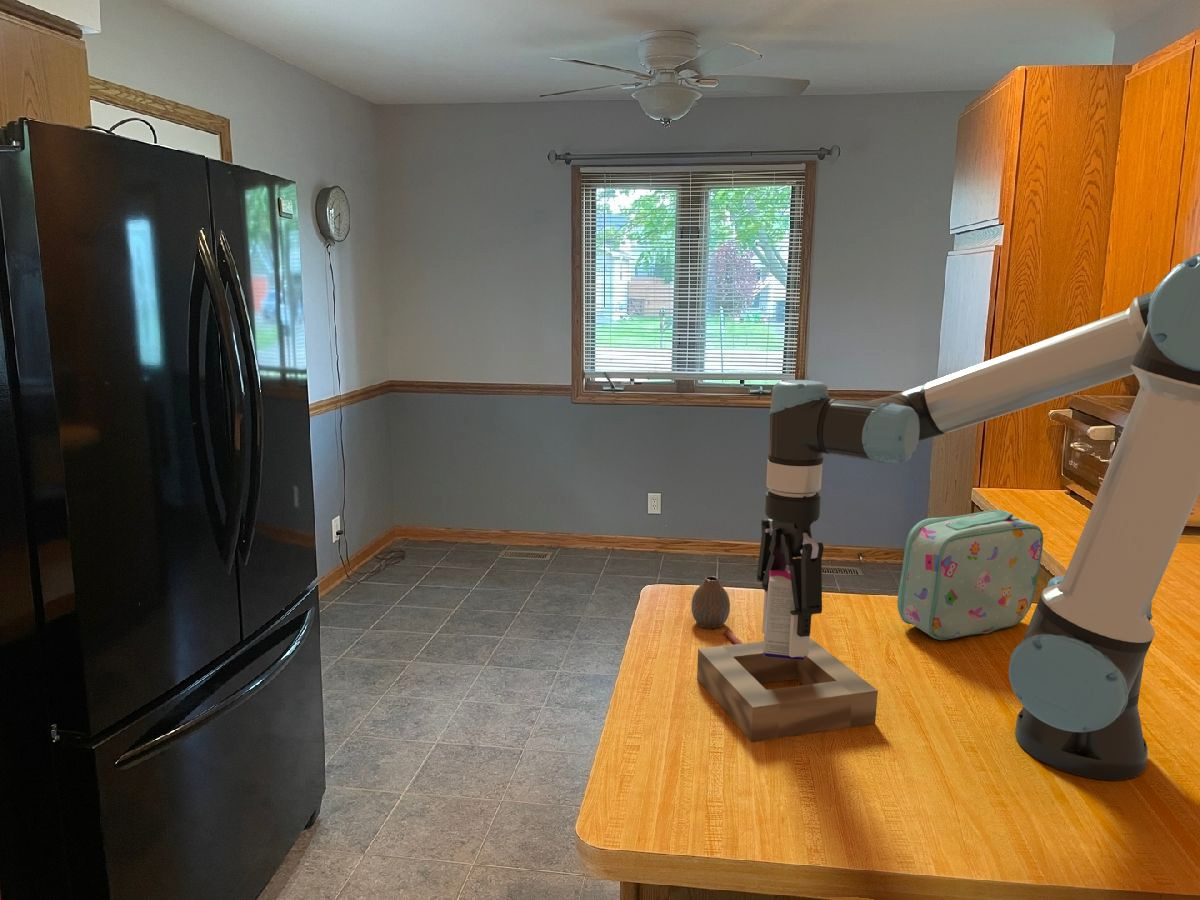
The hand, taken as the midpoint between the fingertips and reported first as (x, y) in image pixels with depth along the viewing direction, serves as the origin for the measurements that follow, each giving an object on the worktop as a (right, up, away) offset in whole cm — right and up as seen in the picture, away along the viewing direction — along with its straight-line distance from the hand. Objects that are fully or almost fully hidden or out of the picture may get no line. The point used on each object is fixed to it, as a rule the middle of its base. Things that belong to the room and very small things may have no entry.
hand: (784, 643), depth 121 cm
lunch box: (+40, -4, +30) cm, 50 cm away
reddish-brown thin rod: (-3, -5, +19) cm, 20 cm away
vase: (-7, -4, +29) cm, 30 cm away
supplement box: (0, -1, 0) cm, 1 cm away
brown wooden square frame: (0, -9, +2) cm, 9 cm away
